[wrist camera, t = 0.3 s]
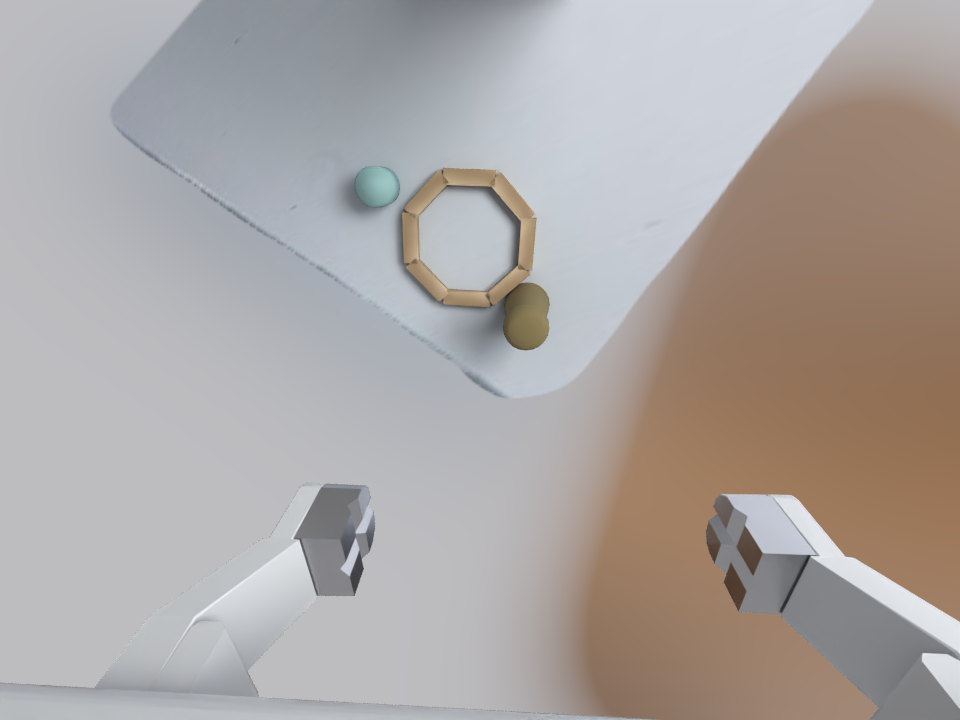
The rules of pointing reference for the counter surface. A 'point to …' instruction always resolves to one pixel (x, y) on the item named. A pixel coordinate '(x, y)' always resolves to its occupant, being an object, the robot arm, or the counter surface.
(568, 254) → the counter surface
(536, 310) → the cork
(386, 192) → the loose bead
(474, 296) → the wooden segmented ring
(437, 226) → the counter surface
